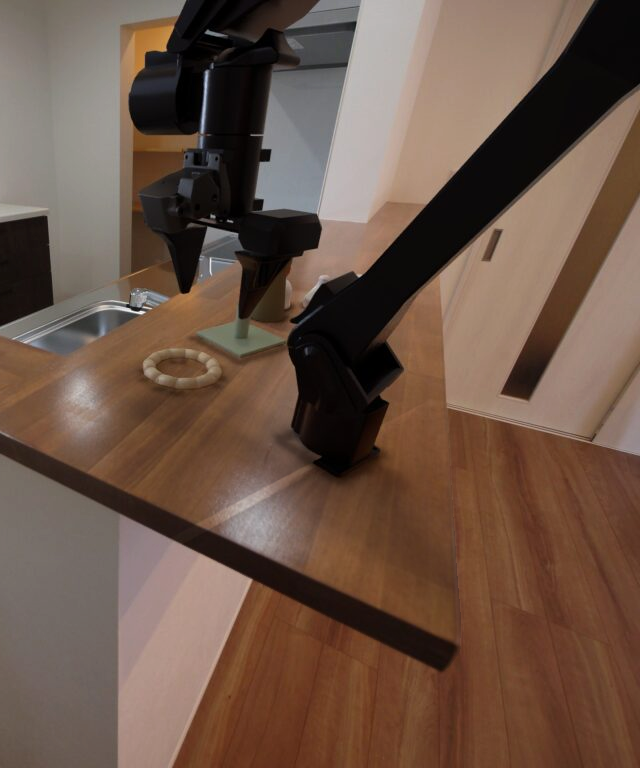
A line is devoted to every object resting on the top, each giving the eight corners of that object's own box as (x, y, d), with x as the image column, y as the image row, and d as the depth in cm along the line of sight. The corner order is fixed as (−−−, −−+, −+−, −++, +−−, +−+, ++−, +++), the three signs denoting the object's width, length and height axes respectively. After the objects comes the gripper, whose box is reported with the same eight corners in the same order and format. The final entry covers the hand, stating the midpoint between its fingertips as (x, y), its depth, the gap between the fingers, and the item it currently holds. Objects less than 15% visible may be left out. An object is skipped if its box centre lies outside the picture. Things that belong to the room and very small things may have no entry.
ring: (236, 380, 52) (238, 369, 51) (174, 402, 48) (175, 390, 47) (187, 351, 59) (188, 340, 58) (128, 368, 55) (128, 357, 54)
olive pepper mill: (286, 323, 69) (300, 253, 63) (247, 320, 70) (258, 251, 64) (282, 310, 74) (295, 244, 68) (246, 307, 75) (256, 242, 69)
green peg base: (285, 347, 60) (293, 306, 57) (239, 362, 56) (245, 318, 53) (239, 326, 67) (245, 288, 64) (195, 339, 63) (198, 298, 60)
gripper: (99, 135, 41) (103, 293, 49) (240, 134, 27) (214, 355, 35) (190, 136, 46) (180, 279, 54) (347, 135, 32) (303, 328, 40)
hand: (212, 305), depth 45 cm, fingers open, 9 cm apart
